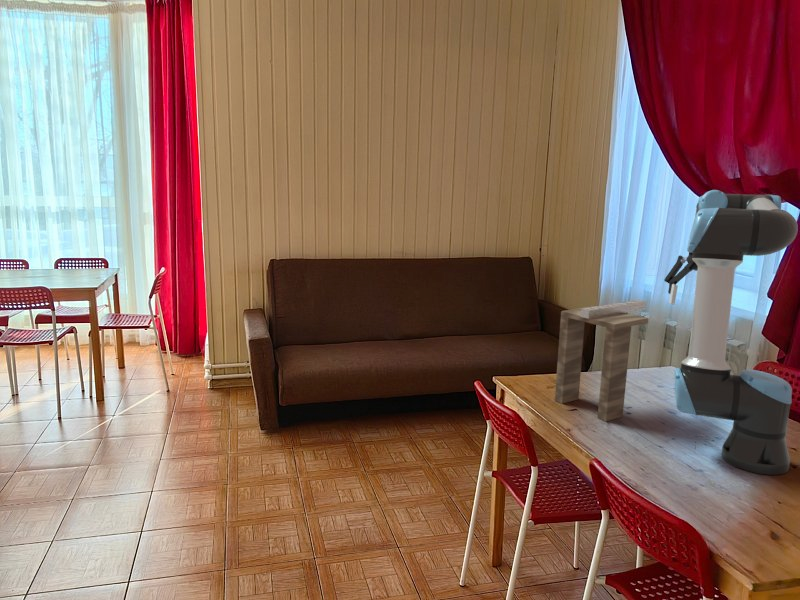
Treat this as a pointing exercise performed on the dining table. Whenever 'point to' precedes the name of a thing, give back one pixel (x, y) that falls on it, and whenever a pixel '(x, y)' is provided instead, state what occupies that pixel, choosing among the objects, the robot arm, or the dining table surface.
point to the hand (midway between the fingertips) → (692, 305)
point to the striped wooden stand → (611, 365)
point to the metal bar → (613, 309)
